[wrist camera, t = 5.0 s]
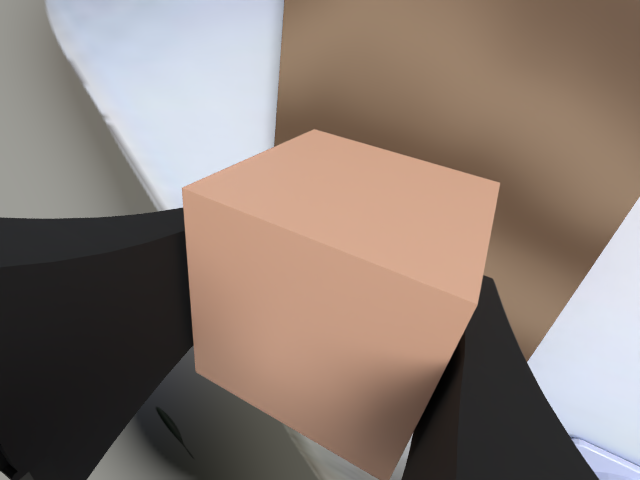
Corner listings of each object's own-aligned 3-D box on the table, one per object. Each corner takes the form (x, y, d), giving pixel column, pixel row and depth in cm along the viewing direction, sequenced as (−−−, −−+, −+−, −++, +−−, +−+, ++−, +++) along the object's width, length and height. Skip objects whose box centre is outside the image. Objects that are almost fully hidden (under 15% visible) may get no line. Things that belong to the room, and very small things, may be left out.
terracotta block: (435, 329, 11) (387, 483, 7) (296, 270, 13) (195, 372, 9) (500, 183, 9) (477, 304, 5) (314, 129, 10) (181, 188, 6)
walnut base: (507, 371, 19) (505, 393, 18) (277, 271, 23) (264, 283, 22) (799, -81, 9) (839, -97, 8) (313, -110, 14) (292, -123, 12)
